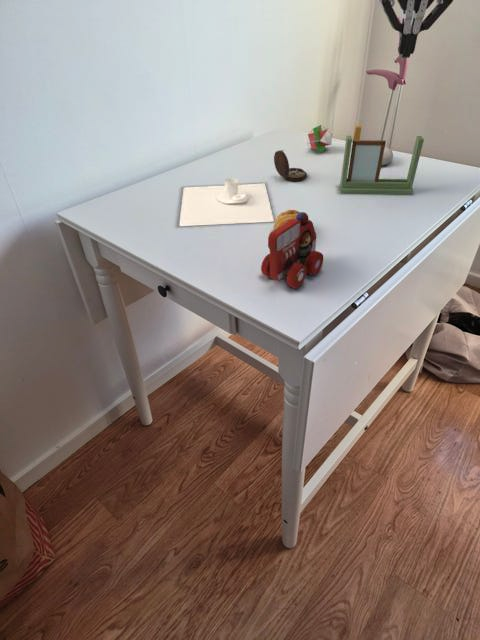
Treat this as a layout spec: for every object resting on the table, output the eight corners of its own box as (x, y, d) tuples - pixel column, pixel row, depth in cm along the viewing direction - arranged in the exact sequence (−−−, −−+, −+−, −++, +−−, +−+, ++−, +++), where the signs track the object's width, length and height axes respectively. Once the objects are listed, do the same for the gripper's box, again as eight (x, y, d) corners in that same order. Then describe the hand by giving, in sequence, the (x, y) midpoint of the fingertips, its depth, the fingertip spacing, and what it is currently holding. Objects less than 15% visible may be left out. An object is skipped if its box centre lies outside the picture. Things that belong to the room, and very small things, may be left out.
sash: (376, 184, 99) (388, 125, 90) (377, 186, 98) (388, 127, 90) (346, 183, 100) (354, 125, 91) (346, 185, 99) (355, 127, 90)
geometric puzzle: (296, 142, 120) (313, 121, 114) (310, 136, 124) (326, 115, 117) (312, 162, 120) (329, 142, 113) (325, 155, 124) (342, 135, 117)
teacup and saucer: (251, 206, 95) (250, 188, 92) (215, 207, 95) (214, 190, 92) (248, 190, 101) (248, 173, 99) (215, 191, 101) (214, 174, 99)
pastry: (314, 247, 80) (315, 229, 78) (278, 250, 80) (279, 231, 78) (304, 224, 88) (305, 207, 85) (272, 226, 87) (272, 209, 85)
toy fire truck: (328, 265, 76) (335, 211, 69) (287, 297, 69) (290, 241, 62) (296, 252, 79) (300, 200, 72) (254, 282, 72) (254, 227, 66)
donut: (386, 155, 117) (350, 154, 117) (389, 142, 115) (352, 142, 115) (395, 168, 110) (356, 168, 110) (398, 155, 107) (359, 155, 108)
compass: (311, 178, 106) (313, 148, 101) (284, 184, 103) (285, 154, 98) (294, 168, 111) (296, 139, 107) (268, 174, 109) (268, 144, 104)
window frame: (408, 187, 100) (420, 134, 92) (411, 194, 97) (424, 140, 89) (339, 186, 102) (346, 134, 94) (340, 193, 99) (347, 140, 91)
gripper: (391, -63, 68) (372, 61, 80) (476, -67, 67) (445, 60, 78) (384, -62, 74) (367, 54, 85) (462, -65, 73) (435, 53, 84)
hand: (404, 56), depth 82 cm, fingers closed
